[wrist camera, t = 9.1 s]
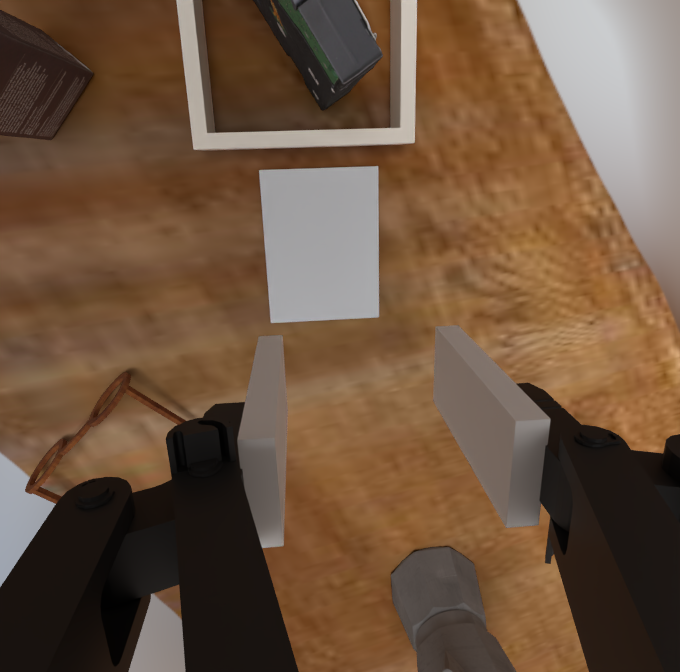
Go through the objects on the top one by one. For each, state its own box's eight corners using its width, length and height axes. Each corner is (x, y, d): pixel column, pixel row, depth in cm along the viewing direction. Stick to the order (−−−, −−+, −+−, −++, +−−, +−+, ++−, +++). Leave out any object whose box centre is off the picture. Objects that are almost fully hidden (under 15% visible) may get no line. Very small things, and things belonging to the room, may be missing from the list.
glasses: (131, 361, 43) (111, 386, 39) (248, 452, 47) (243, 484, 42) (38, 461, 46) (8, 496, 41) (156, 540, 49) (141, 580, 45)
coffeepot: (363, 555, 52) (397, 750, 35) (448, 515, 51) (525, 693, 34) (425, 652, 57) (481, 863, 40) (503, 616, 56) (594, 816, 39)
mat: (259, 170, 39) (259, 170, 38) (377, 166, 40) (378, 166, 39) (271, 321, 43) (270, 323, 42) (378, 315, 43) (379, 317, 43)
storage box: (176, -96, 33) (161, -129, 29) (405, -96, 34) (419, -127, 31) (203, 150, 38) (193, 149, 34) (403, 144, 39) (414, 142, 35)
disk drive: (355, 91, 38) (390, 51, 24) (323, 114, 38) (340, 88, 24) (270, -50, 35) (253, -193, 21) (236, -24, 35) (197, -146, 21)
